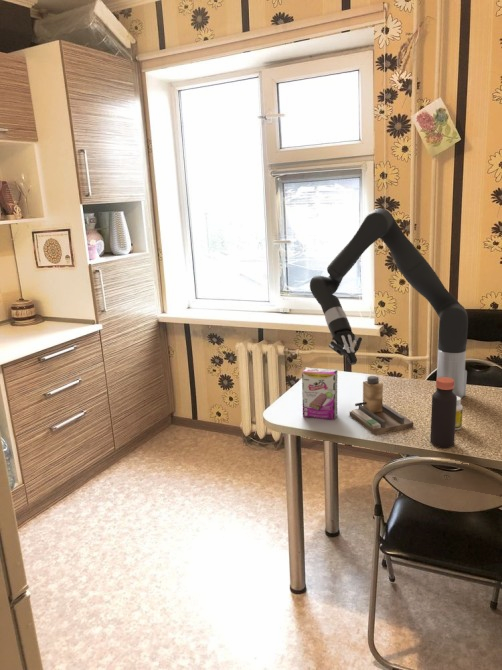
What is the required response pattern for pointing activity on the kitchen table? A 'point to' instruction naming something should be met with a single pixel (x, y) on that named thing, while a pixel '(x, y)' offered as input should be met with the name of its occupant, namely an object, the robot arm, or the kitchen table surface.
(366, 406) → the block
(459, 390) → the robot arm
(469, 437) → the kitchen table surface
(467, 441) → the kitchen table surface
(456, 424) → the supplement bottle
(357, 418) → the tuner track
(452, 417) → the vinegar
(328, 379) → the candy bar box
